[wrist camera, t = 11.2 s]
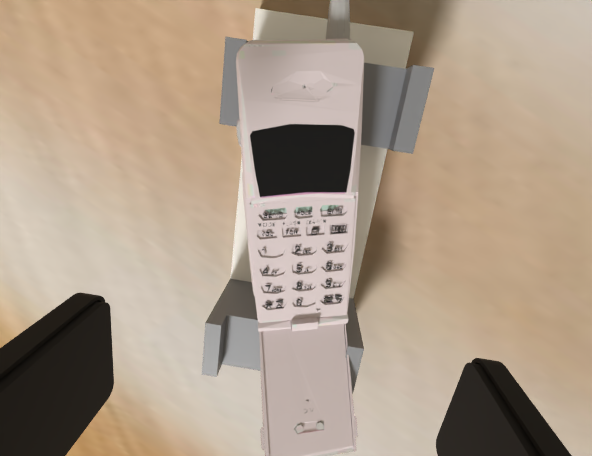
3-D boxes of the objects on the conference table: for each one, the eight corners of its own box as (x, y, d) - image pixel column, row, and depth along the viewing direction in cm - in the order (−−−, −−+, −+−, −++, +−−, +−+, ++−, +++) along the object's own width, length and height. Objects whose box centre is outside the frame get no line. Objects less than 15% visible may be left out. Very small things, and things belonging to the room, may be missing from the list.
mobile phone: (263, 469, 20) (210, -51, 9) (261, 386, 25) (226, -7, 14) (359, 456, 21) (417, -47, 10) (337, 377, 26) (359, -6, 15)
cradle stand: (258, 13, 22) (230, -39, 15) (409, 35, 21) (452, -6, 15) (226, 343, 30) (199, 409, 23) (336, 361, 29) (342, 433, 23)
